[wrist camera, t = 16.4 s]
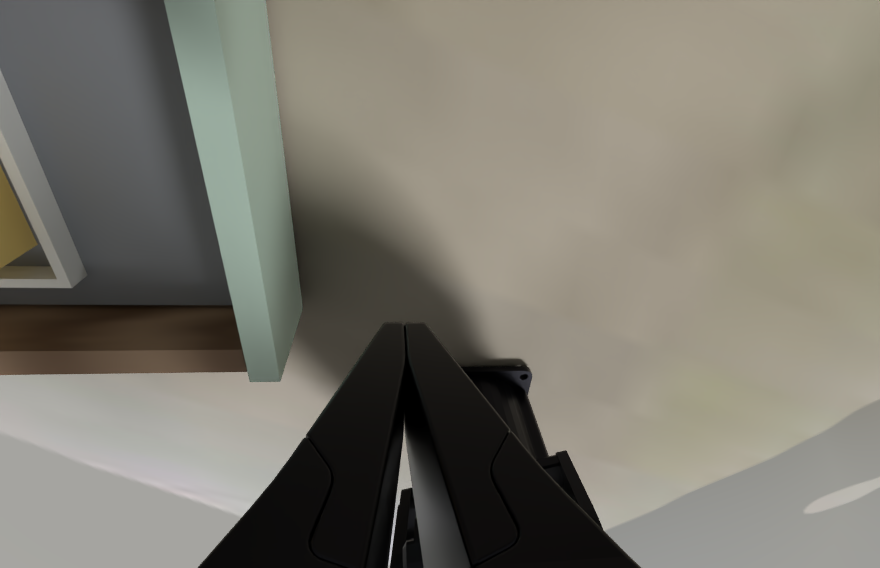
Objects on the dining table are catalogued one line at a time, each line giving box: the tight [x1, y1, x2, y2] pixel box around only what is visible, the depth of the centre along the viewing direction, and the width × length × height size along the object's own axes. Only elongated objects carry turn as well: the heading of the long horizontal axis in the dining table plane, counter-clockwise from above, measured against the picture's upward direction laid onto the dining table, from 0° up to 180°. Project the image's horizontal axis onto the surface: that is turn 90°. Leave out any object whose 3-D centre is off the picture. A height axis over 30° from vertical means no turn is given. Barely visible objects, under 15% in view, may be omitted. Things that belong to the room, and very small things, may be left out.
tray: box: [0, 0, 303, 382], centre depth 15 cm, size 15×15×5 cm
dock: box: [0, 304, 247, 375], centre depth 15 cm, size 16×15×5 cm
